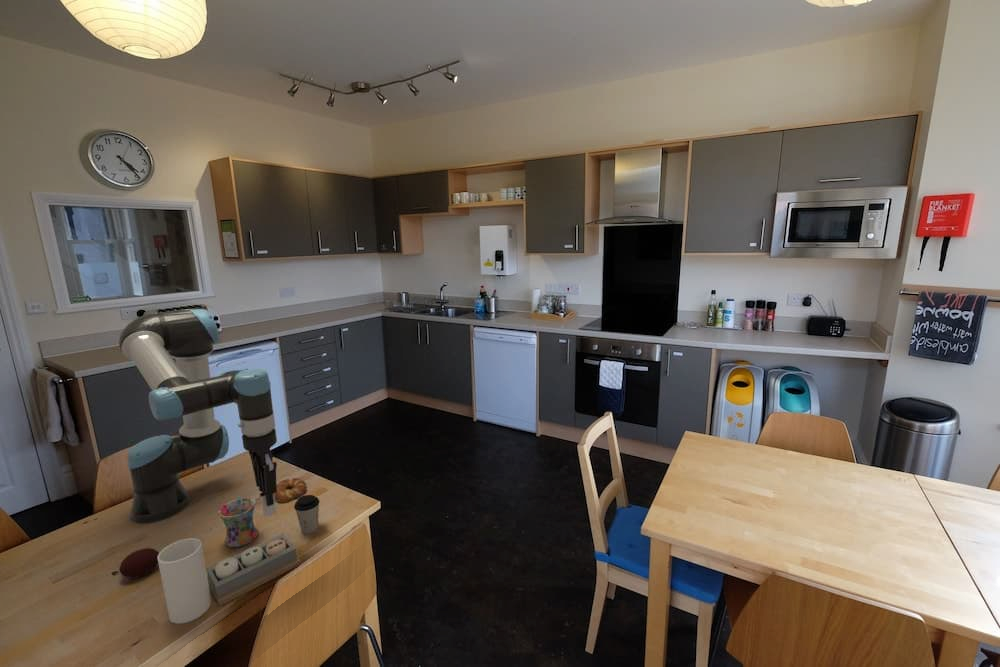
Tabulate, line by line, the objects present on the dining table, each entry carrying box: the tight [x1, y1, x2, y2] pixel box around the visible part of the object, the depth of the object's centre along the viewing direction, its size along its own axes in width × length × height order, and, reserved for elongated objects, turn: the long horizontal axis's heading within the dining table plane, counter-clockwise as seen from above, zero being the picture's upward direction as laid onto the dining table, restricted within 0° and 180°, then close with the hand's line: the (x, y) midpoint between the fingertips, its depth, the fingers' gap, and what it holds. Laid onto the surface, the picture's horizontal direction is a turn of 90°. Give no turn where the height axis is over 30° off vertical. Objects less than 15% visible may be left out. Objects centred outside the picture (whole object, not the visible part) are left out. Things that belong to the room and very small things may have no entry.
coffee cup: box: [294, 494, 320, 535], centre depth 132 cm, size 7×7×10 cm
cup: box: [158, 537, 212, 625], centre depth 103 cm, size 8×8×16 cm
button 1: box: [215, 557, 239, 581], centre depth 111 cm, size 5×5×3 cm
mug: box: [217, 497, 259, 548], centre depth 129 cm, size 12×9×11 cm
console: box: [206, 533, 301, 607], centre depth 116 cm, size 12×19×4 cm, turn 136°
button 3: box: [266, 540, 286, 557], centre depth 119 cm, size 5×5×3 cm
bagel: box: [274, 477, 307, 504], centre depth 152 cm, size 12×11×4 cm
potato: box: [119, 547, 160, 579], centre depth 116 cm, size 7×8×6 cm
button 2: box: [241, 546, 263, 569], centre depth 115 cm, size 5×5×3 cm
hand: (270, 514), depth 117 cm, fingers closed
